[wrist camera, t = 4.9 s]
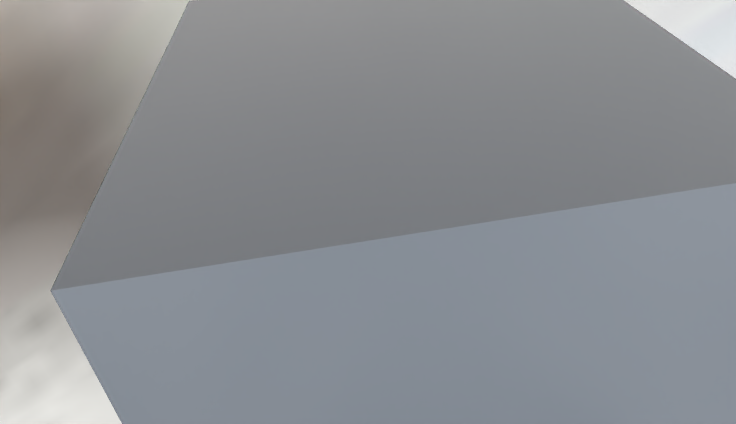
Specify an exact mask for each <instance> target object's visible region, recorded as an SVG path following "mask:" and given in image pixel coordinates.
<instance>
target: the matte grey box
mask: <svg viewBox="0 0 736 424" xmlns="http://www.w3.org/2000/svg"><path fill="white" fill-rule="evenodd" d="M51 292H52V294H53V296H54V298H55V300H56V302H57V304H58V305H59V307H60V309H61V311H62V313H63V315H64V317H65V318H66V320H67V322H68V324H69V326H70V328H71V330H72V331H73V333H74V335H75V337H76V339H77V341H78V343H79V344H80V346H81V348H82V350H83V352H84V354H85V355H86V357H87V359H88V361H89V363H90V365H91V367H92V368H93V370H94V372H95V374H96V376H97V378H98V380H99V381H100V383H101V385H102V387H103V389H104V391H105V393H106V394H107V396H108V398H109V400H110V402H111V404H112V406H113V407H114V409H115V411H116V413H117V415H118V417H119V419H120V420H121V422H122V424H736V79H735V78H734V77H732V76H731V75H729V74H728V73H727V72H725V71H724V70H722V69H721V68H719V67H718V66H717V65H715V64H714V63H712V62H711V61H709V60H708V59H707V58H705V57H704V56H702V55H701V54H699V53H698V52H697V51H695V50H694V49H692V48H691V47H689V46H688V45H687V44H685V43H684V42H682V41H681V40H679V39H678V38H677V37H675V36H674V35H672V34H671V33H669V32H668V31H667V30H665V29H664V28H662V27H661V26H659V25H658V24H657V23H655V22H654V21H652V20H651V19H649V18H648V17H647V16H645V15H644V14H642V13H641V12H639V11H638V10H636V9H635V8H634V7H632V6H631V5H629V4H628V3H626V2H625V1H624V0H193V1H189V2H188V4H187V7H186V9H185V11H184V13H183V15H182V17H181V19H180V21H179V23H178V25H177V27H176V30H175V32H174V34H173V36H172V38H171V40H170V42H169V44H168V46H167V48H166V50H165V53H164V55H163V57H162V59H161V61H160V63H159V65H158V67H157V69H156V71H155V73H154V76H153V78H152V80H151V82H150V84H149V86H148V88H147V90H146V92H145V94H144V96H143V98H142V101H141V103H140V105H139V107H138V109H137V111H136V113H135V115H134V117H133V119H132V121H131V124H130V126H129V128H128V130H127V132H126V134H125V136H124V138H123V140H122V142H121V144H120V147H119V149H118V151H117V153H116V155H115V157H114V159H113V161H112V163H111V165H110V167H109V170H108V172H107V174H106V176H105V178H104V180H103V182H102V184H101V186H100V188H99V190H98V193H97V195H96V197H95V199H94V201H93V203H92V205H91V207H90V209H89V211H88V213H87V216H86V218H85V220H84V222H83V224H82V226H81V228H80V230H79V232H78V234H77V236H76V239H75V241H74V243H73V245H72V247H71V249H70V251H69V253H68V255H67V257H66V259H65V261H64V264H63V266H62V268H61V270H60V272H59V274H58V276H57V278H56V280H55V282H54V284H53V287H52V289H51Z"/></svg>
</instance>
